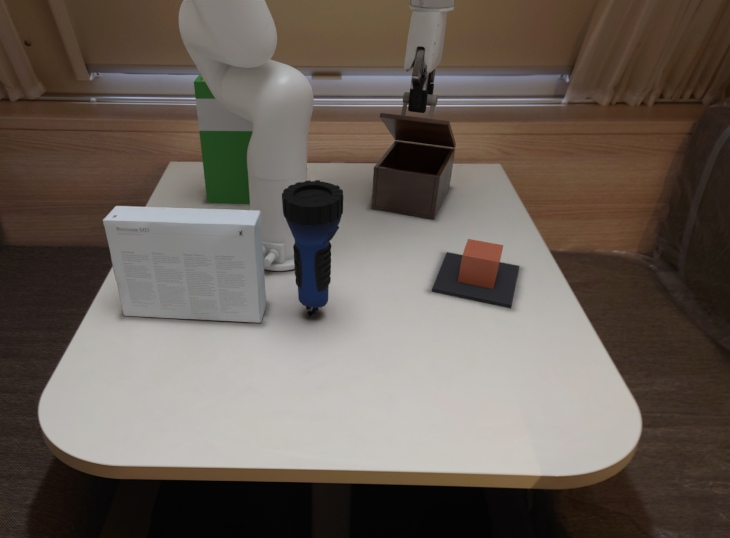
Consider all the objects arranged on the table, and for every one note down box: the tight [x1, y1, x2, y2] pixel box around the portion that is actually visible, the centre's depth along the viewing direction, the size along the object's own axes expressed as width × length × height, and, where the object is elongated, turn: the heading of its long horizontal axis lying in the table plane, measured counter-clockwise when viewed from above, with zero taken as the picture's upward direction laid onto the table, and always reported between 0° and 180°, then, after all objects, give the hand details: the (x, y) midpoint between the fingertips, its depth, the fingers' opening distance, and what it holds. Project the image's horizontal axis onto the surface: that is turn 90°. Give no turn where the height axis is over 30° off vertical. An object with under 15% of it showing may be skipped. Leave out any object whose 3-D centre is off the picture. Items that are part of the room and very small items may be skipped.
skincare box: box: [102, 205, 267, 324], centre depth 83 cm, size 21×5×16 cm, turn 84°
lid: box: [379, 91, 457, 149], centre depth 111 cm, size 16×13×6 cm
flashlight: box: [282, 179, 344, 318], centre depth 80 cm, size 8×8×20 cm
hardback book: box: [193, 73, 253, 204], centre depth 113 cm, size 18×7×24 cm, turn 87°
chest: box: [370, 140, 456, 220], centre depth 116 cm, size 16×13×9 cm
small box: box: [458, 238, 504, 289], centre depth 91 cm, size 6×6×5 cm
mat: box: [431, 251, 520, 309], centre depth 93 cm, size 12×12×1 cm
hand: (419, 107), depth 107 cm, fingers open, 4 cm apart
